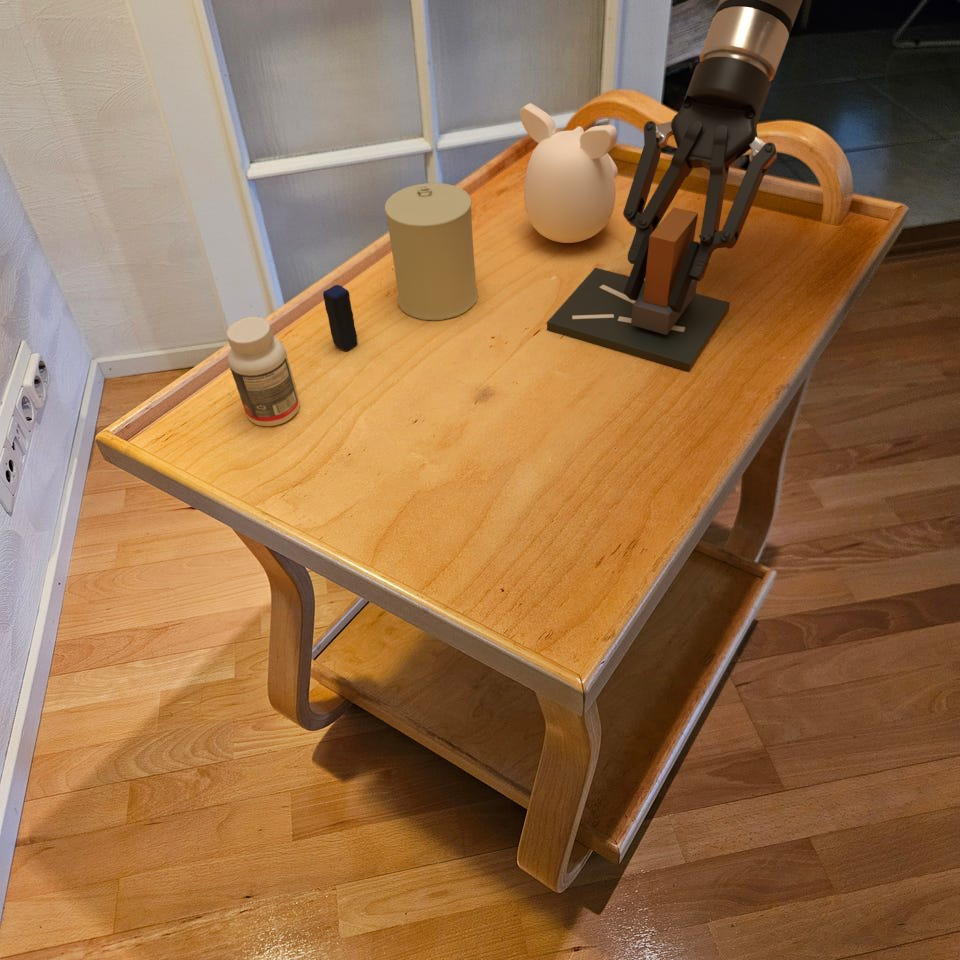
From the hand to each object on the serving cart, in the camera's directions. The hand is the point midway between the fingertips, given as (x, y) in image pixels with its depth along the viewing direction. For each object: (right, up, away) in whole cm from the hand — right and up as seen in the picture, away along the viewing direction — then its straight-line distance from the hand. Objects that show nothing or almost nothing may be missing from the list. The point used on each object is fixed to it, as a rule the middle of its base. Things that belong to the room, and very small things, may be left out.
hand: (652, 302), depth 83 cm
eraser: (-32, -3, +6) cm, 32 cm away
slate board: (0, -1, +6) cm, 6 cm away
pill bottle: (-38, -11, -1) cm, 39 cm away
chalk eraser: (+2, 0, +5) cm, 5 cm away
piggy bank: (-6, +13, +20) cm, 24 cm away
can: (-22, +3, +12) cm, 25 cm away
